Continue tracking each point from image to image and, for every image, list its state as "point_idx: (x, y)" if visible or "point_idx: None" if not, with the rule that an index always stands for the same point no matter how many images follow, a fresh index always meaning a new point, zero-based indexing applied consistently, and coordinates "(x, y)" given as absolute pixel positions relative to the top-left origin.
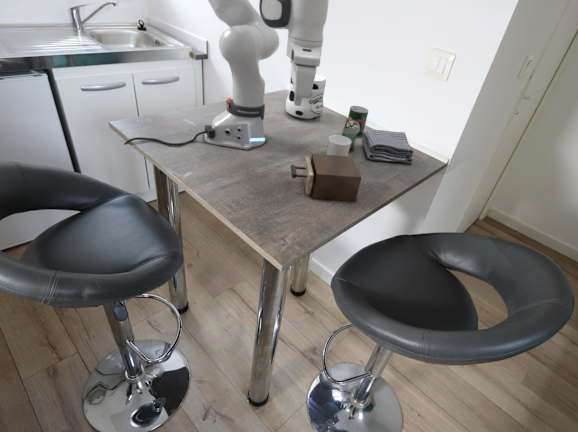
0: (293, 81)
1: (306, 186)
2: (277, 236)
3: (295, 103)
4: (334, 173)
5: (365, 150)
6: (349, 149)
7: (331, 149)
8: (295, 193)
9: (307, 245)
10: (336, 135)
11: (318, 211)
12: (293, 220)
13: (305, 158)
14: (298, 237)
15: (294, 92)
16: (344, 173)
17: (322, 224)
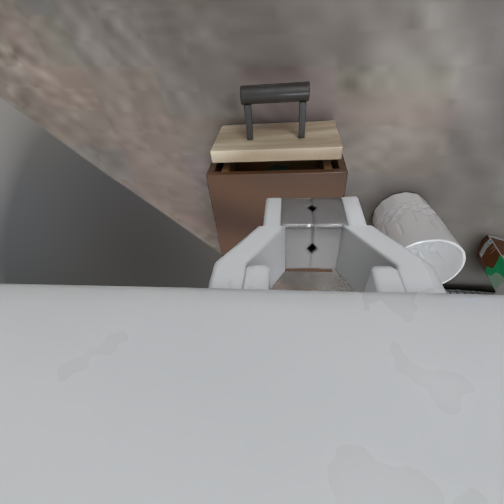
0: (308, 344)
1: (237, 129)
2: (16, 34)
3: (266, 207)
4: (224, 219)
5: (455, 292)
6: (480, 261)
7: (401, 229)
8: (233, 91)
9: (33, 114)
10: (462, 262)
11: (167, 149)
12: (103, 82)
13: (336, 144)
14: (47, 94)
15: (380, 242)
16: (232, 241)
17: (122, 153)
